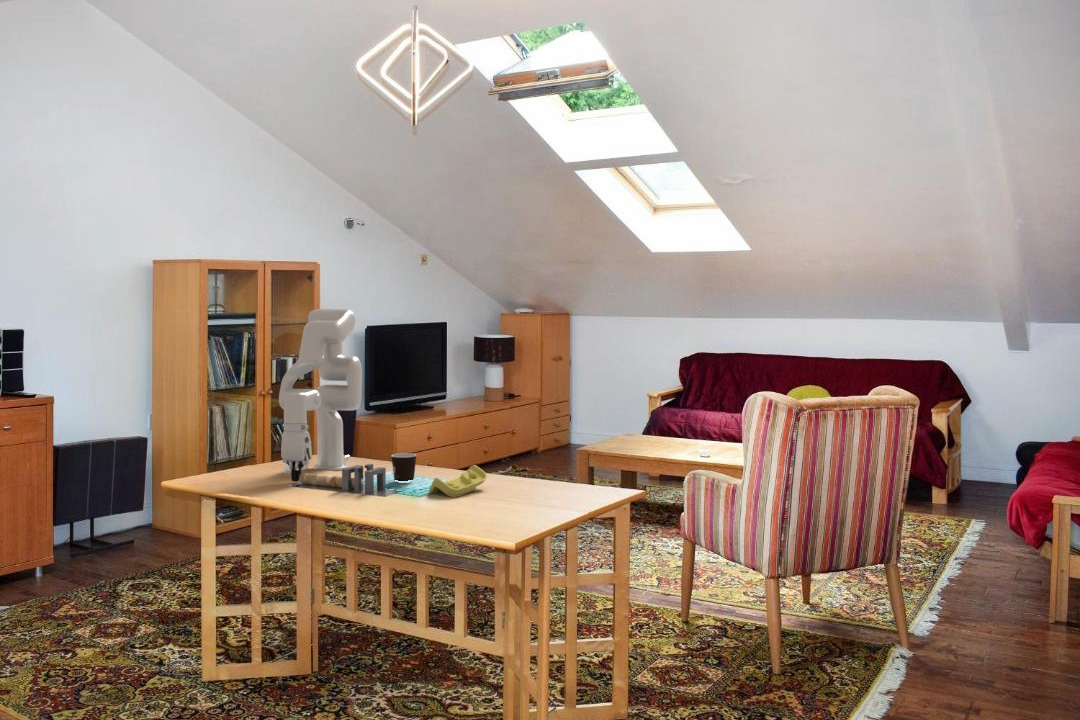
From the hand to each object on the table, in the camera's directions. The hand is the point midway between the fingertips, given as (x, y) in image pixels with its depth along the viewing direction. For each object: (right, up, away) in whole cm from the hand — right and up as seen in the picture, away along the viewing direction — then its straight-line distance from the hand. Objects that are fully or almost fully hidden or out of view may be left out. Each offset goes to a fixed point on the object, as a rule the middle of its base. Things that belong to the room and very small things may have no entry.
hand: (296, 480), depth 330 cm
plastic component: (+57, -3, -10) cm, 58 cm away
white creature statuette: (-7, 0, +27) cm, 27 cm away
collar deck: (+19, -2, -9) cm, 21 cm away
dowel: (+13, -1, -6) cm, 15 cm away
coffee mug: (+37, -2, +4) cm, 37 cm away
